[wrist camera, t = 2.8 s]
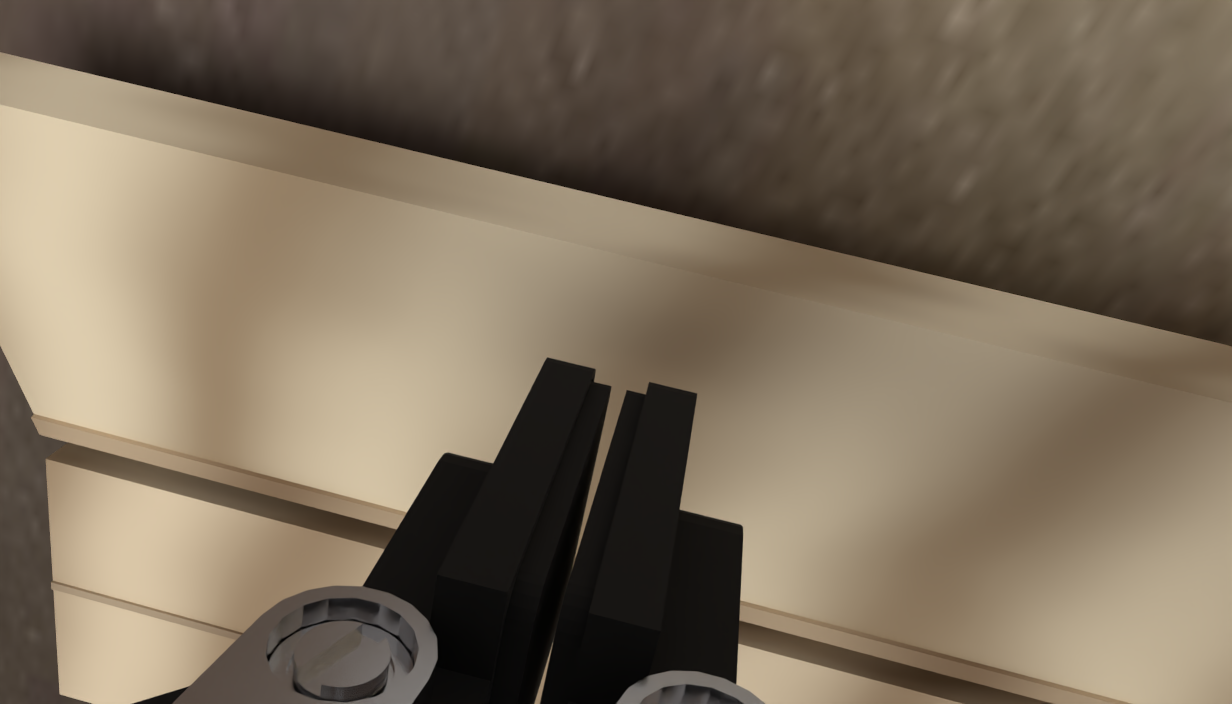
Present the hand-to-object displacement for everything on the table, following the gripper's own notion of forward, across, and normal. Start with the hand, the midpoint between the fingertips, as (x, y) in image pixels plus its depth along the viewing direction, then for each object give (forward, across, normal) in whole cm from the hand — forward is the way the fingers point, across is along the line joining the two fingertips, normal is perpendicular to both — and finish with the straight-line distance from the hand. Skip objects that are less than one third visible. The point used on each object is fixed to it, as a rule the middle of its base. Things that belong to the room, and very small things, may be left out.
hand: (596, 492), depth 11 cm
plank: (+7, -1, +2) cm, 8 cm away
